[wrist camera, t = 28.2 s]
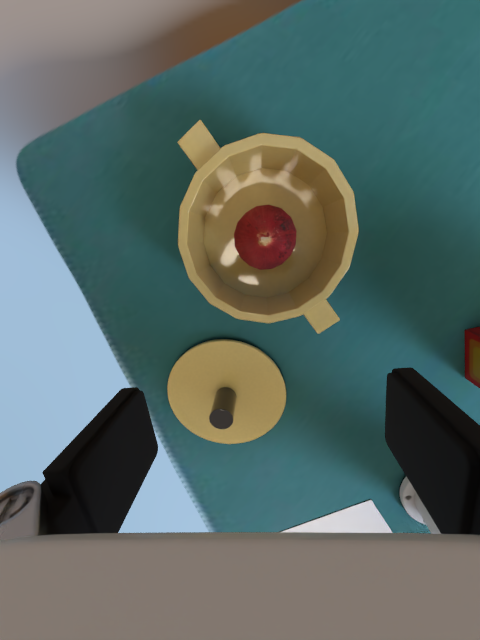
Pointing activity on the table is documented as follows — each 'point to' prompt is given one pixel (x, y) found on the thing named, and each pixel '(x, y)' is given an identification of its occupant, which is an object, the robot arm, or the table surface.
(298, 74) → the table surface
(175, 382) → the lid
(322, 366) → the table surface
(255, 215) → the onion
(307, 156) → the pot
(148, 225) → the table surface
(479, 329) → the baking soda box
